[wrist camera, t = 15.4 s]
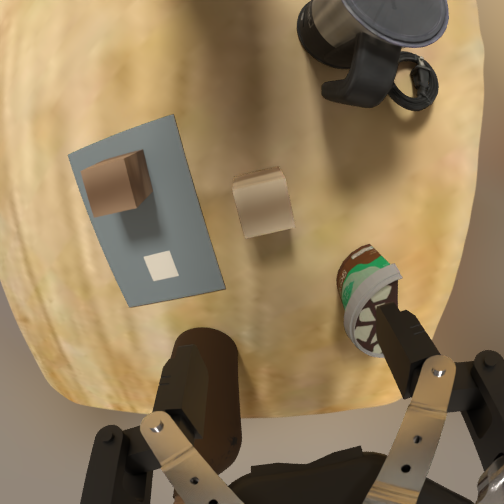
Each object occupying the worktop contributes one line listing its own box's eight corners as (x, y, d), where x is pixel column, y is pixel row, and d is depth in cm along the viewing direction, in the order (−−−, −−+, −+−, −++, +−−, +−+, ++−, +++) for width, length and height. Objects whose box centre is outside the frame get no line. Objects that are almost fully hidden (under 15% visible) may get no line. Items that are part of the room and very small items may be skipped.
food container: (321, 244, 38) (344, 288, 29) (368, 233, 37) (402, 272, 28) (332, 321, 43) (350, 372, 34) (373, 310, 42) (398, 358, 33)
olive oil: (191, 310, 42) (158, 486, 19) (255, 344, 44) (264, 509, 22) (159, 354, 45) (123, 503, 23) (217, 382, 48) (209, 526, 26)
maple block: (234, 176, 34) (232, 190, 29) (278, 166, 34) (285, 178, 28) (244, 218, 36) (245, 238, 31) (287, 208, 36) (295, 227, 30)
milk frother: (289, -5, 25) (319, -68, 11) (416, 3, 24) (491, -26, 11) (309, 113, 31) (355, 118, 18) (432, 110, 30) (517, 125, 17)
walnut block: (104, 159, 32) (80, 171, 27) (143, 149, 32) (123, 158, 26) (114, 199, 34) (93, 217, 29) (153, 191, 34) (136, 208, 29)
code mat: (68, 154, 32) (67, 154, 31) (173, 114, 31) (173, 114, 30) (129, 306, 41) (129, 307, 41) (225, 287, 40) (225, 288, 40)
